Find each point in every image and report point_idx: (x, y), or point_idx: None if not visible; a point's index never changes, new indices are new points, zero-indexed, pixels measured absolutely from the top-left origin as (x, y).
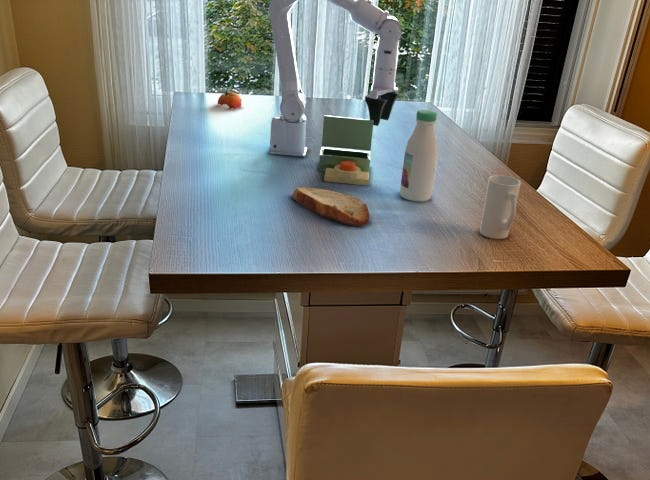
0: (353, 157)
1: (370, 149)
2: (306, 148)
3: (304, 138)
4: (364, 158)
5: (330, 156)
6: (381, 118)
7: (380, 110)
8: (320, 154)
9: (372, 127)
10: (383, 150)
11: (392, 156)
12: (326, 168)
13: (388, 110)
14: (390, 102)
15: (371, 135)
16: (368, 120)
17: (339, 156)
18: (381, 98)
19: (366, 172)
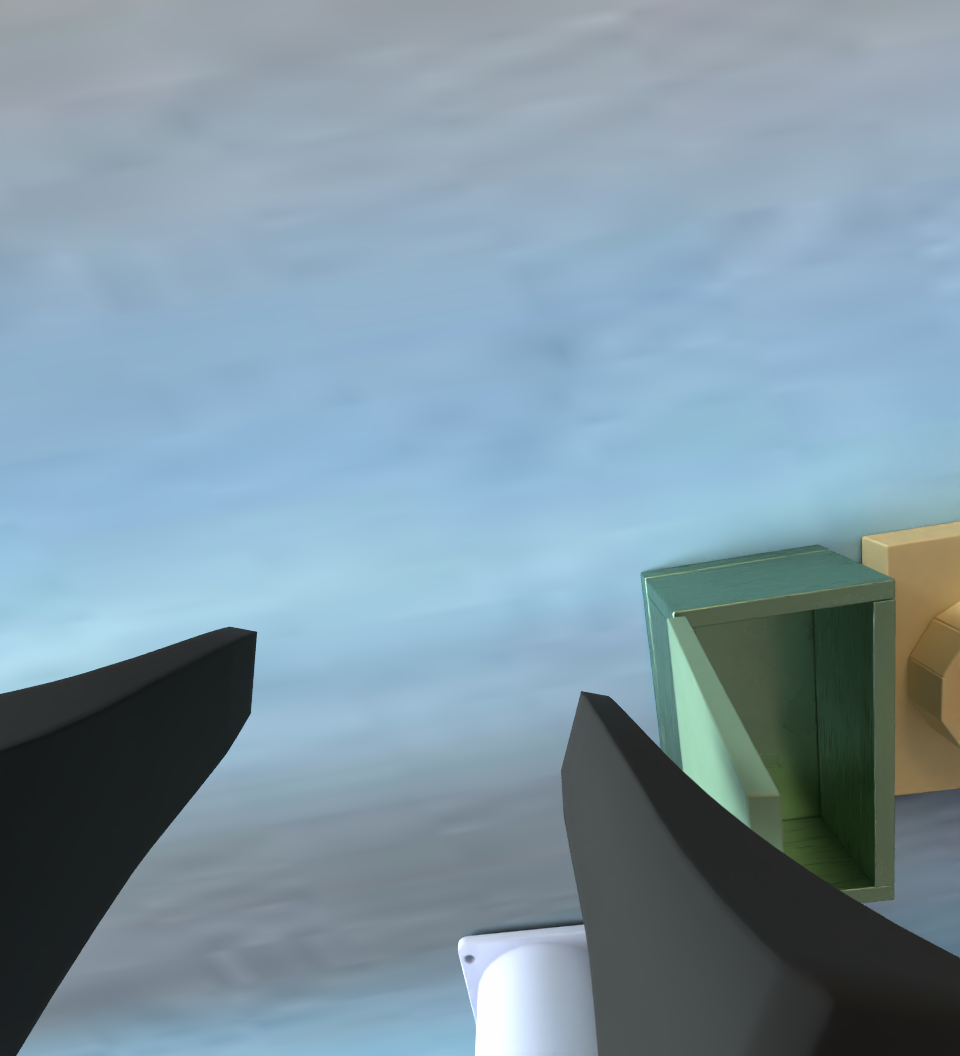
0: (880, 700)
1: (688, 622)
2: (481, 944)
3: (569, 1035)
4: (878, 623)
5: (890, 836)
6: (247, 709)
7: (765, 847)
8: (886, 897)
9: (750, 738)
10: (203, 549)
11: (304, 468)
12: (900, 794)
13: (174, 702)
14: (64, 780)
15: (720, 687)
16: (783, 851)
17: (889, 788)
18: (24, 994)
19: (901, 561)
